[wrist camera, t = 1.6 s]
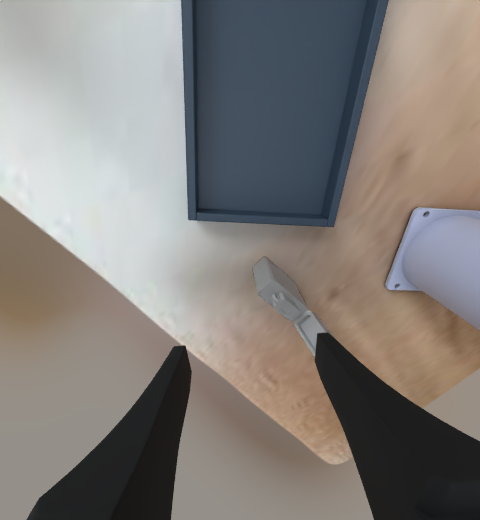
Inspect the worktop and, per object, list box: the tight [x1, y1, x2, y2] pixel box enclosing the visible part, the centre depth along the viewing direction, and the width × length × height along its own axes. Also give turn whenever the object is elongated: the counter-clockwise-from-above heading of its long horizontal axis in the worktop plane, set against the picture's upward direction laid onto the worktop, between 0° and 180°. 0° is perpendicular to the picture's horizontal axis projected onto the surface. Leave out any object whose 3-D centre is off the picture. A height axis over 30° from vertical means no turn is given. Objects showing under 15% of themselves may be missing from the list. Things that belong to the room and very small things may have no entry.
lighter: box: [252, 257, 334, 357], centre depth 18 cm, size 7×2×8 cm, turn 47°
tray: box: [181, 0, 389, 227], centre depth 15 cm, size 11×17×2 cm, turn 176°
